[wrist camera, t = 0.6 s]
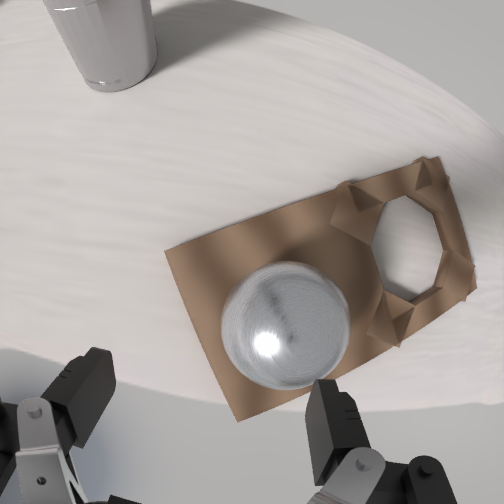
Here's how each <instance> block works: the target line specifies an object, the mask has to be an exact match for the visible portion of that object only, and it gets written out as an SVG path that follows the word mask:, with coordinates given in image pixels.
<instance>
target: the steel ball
mask: <svg viewBox="0 0 504 504" xmlns="http://www.w3.org/2000/svg"><path fill="white" fill-rule="evenodd" d="M350 335H351V315H350V310H349V306H348V303H347V300H346V298H345V296H344V294H343V292H342V291H341V289H340V288H339V287H338V285H337V284H336V283H335V282H334V281H333V280H332V279H331V278H330V277H329V276H328V275H327V274H325V273H324V272H323V271H321V270H319V269H317V268H316V267H314V266H311V265H308V264H305V263H301V262H296V261H278V262H272V263H269V264H266V265H263V266H260V267H258V268H256V269H254V270H252V271H251V272H249V273H248V274H246V275H245V276H244V277H243V278H242V279H241V280H240V281H239V282H238V283H237V284H236V285H235V286H234V288H233V289H232V291H231V292H230V294H229V296H228V297H227V299H226V302H225V305H224V307H223V311H222V316H221V337H222V342H223V345H224V348H225V351H226V353H227V355H228V357H229V359H230V360H231V362H232V363H233V365H234V366H235V367H236V368H237V369H238V370H239V372H240V373H242V374H243V375H244V376H245V377H247V378H248V379H249V380H251V381H253V382H254V383H256V384H258V385H261V386H263V387H267V388H271V389H276V390H294V389H300V388H303V387H307V386H309V385H312V384H313V383H314V381H315V379H323V378H324V377H326V376H327V375H328V374H329V373H330V372H331V371H332V370H333V369H334V368H335V367H336V366H337V365H338V363H339V362H340V360H341V359H342V357H343V355H344V354H345V352H346V349H347V347H348V344H349V340H350Z"/></svg>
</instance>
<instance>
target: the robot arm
mask: <svg viewBox="0 0 504 504" xmlns="http://www.w3.org/2000/svg"><path fill="white" fill-rule="evenodd" d="M43 2H44V4H45V5H46V7H47V9H48V11H49V13H50V15H51V17H52V19H53V21H54V23H55V25H56V27H57V29H58V31H59V33H60V35H61V37H62V39H63V41H64V43H65V45H66V47H67V49H68V50H69V52H70V54H71V56H72V58H73V60H74V62H75V64H76V65H77V67H78V69H79V71H80V73H81V74H82V76H83V78H84V80H85V81H86V83H87V84H88V85H89V86H90V87H91V88H93V89H95V90H97V91H102V92H115V91H120V90H124V89H126V88H129V87H131V86H133V85H135V84H137V83H138V82H140V81H141V80H142V79H144V78H145V77H146V76H147V75H148V74H149V73H150V72H151V70H152V68H153V67H154V65H155V63H156V60H157V47H156V40H155V33H154V25H153V17H152V9H151V1H150V0H43ZM115 387H116V379H115V373H114V366H113V360H112V354H111V352H110V351H108V350H104V349H100V348H96V347H92V348H91V349H90V350H89V351H88V352H87V353H86V355H85V356H84V357H83V356H79V357H77V358H75V359H73V360H71V361H70V362H69V363H68V364H67V366H66V367H65V368H64V370H63V371H62V372H61V373H60V374H59V376H58V377H56V379H55V380H54V381H53V382H52V383H51V385H50V386H49V387H48V388H47V390H46V391H45V392H44V393H43V394H42V396H41V397H30V398H27V399H25V400H23V401H22V402H21V403H20V404H19V405H16V404H10V403H3V402H2V400H1V398H0V496H1V494H2V492H3V490H4V488H5V487H6V485H7V483H8V480H9V479H10V477H11V476H12V474H13V472H14V470H15V468H16V467H17V471H18V478H19V483H20V489H21V493H22V499H23V503H24V504H141V503H137V502H133V501H130V500H126V499H123V498H120V497H116V496H113V495H110V497H109V500H108V502H105V501H96V502H88V500H87V498H86V497H85V495H84V492H83V490H82V487H81V485H80V481H79V478H78V476H77V472H76V469H75V467H74V463H73V460H72V456H71V453H70V449H71V447H72V445H74V446H77V447H79V448H83V447H84V446H85V443H86V442H87V440H88V438H89V436H90V435H91V433H92V431H93V429H94V427H95V426H96V424H97V422H98V420H99V419H100V417H101V415H102V413H103V411H104V410H105V408H106V406H107V404H108V403H109V401H110V399H111V397H112V396H113V394H114V391H115ZM305 421H306V428H307V434H308V441H309V448H310V454H311V461H312V468H313V475H314V483H315V486H323V487H322V488H321V490H320V491H319V492H318V493H316V494H315V495H314V496H313V497H312V498H311V499H310V500H309V501H308V503H307V504H457V501H456V499H455V496H454V494H453V491H452V488H451V486H450V484H449V481H448V478H447V476H446V474H445V471H444V469H443V466H442V465H441V463H440V462H439V461H438V460H437V459H435V458H433V457H430V456H418V457H415V458H414V459H412V460H411V462H410V463H409V464H401V463H393V462H388V461H385V459H384V458H383V456H382V455H381V454H380V453H379V452H378V451H376V450H374V449H371V446H370V443H369V440H368V437H367V434H366V431H365V429H364V426H363V423H362V420H361V417H360V414H359V412H358V409H357V406H356V403H355V400H354V399H353V398H352V397H351V396H350V395H349V394H348V393H347V392H339V390H338V387H337V383H336V381H335V380H334V379H315V381H314V383H313V387H312V390H311V394H310V397H309V400H308V404H307V407H306V414H305Z"/></svg>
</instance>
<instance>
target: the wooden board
mask: <svg viewBox="0 0 504 504" xmlns="http://www.w3.org/2000/svg"><path fill="white" fill-rule="evenodd" d="M403 195H406V196H408V197H409V198H411V199H412V200H414V201H415V202H416V203H418V204H419V205H421V206H422V207H424V208H425V209H426V210H428V211H429V212H431V213H432V214H433V217H434V220H435V223H436V226H437V229H438V233H439V236H440V240H441V243H442V247H443V250H444V251H443V254H442V258H441V262H440V265H439V269H438V272H437V275H436V279H435V282H434V285H433V287H432V288H431V289H429V290H427V291H426V292H424V293H423V294H421V295H419V296H418V297H416V298H415V299H413V300H411V301H410V302H407V301H405V300H403V299H401V298H399V297H397V296H395V295H393V294H391V293H389V292H387V291H385V290H384V289H383V285H382V282H381V279H380V275H379V272H378V269H377V266H376V263H375V260H374V256H373V253H372V250H371V247H370V244H371V241H372V238H373V235H374V232H375V229H376V226H377V223H378V220H379V217H380V214H381V211H382V208H383V204H384V203H385V202H388V201H390V200H393V199H396V198H398V197H401V196H403ZM164 252H165V255H166V258H167V260H168V263H169V266H170V268H171V271H172V274H173V276H174V279H175V282H176V284H177V287H178V289H179V292H180V294H181V297H182V300H183V302H184V305H185V307H186V309H187V312H188V314H189V317H190V319H191V322H192V324H193V326H194V329H195V331H196V334H197V336H198V338H199V341H200V343H201V345H202V348H203V350H204V352H205V354H206V357H207V359H208V361H209V363H210V366H211V368H212V370H213V372H214V374H215V377H216V379H217V381H218V383H219V385H220V387H221V389H222V392H223V394H224V396H225V398H226V400H227V402H228V404H229V406H230V408H231V410H232V412H233V414H234V416H235V418H236V420H237V422H240V421H242V420H245V419H248V418H250V417H253V416H255V415H258V414H260V413H263V412H265V411H268V410H270V409H272V408H275V407H277V406H279V405H282V404H284V403H286V402H289V401H291V400H293V399H295V398H297V397H300V396H302V395H304V394H306V393H308V392H310V391H311V390H312V387H313V384H312V385H309V386H307V387H303V388H300V389H294V390H276V389H271V388H267V387H263V386H261V385H258V384H256V383H254V382H253V381H251V380H249V379H248V378H247V377H245V376H244V375H243V374H242V373H240V372H239V370H238V369H237V368H236V367H235V366H234V365H233V363H232V362H231V360H230V359H229V357H228V355H227V353H226V351H225V348H224V345H223V342H222V337H221V316H222V311H223V307H224V305H225V302H226V299H227V297H228V296H229V294H230V292H231V291H232V289H233V288H234V286H235V285H236V284H237V283H238V282H239V281H240V280H241V279H242V278H243V277H244V276H245V275H246V274H248V273H249V272H251V271H252V270H254V269H256V268H258V267H260V266H263V265H266V264H269V263H272V262H278V261H296V262H301V263H305V264H308V265H311V266H314V267H316V268H317V269H319V270H321V271H323V272H324V273H325V274H327V275H328V276H329V277H330V278H331V279H332V280H333V281H334V282H335V283H336V284H337V285H338V287H339V288H340V289H341V291H342V292H343V294H344V296H345V298H346V300H347V303H348V306H349V310H350V315H351V335H350V340H349V344H348V347H347V349H346V352H345V354H344V355H343V357H342V359H341V360H340V362H339V363H338V365H337V366H336V367H335V368H334V369H333V370H332V371H331V372H330V373H329V374H328V375H327V376H326V377H324V378H323V379H334V380H335V379H336V378H338V377H340V376H342V375H344V374H346V373H348V372H350V371H352V370H353V369H355V368H357V367H359V366H361V365H363V364H364V363H366V362H368V361H370V360H371V359H373V358H375V357H377V356H378V355H380V354H382V353H383V352H385V351H387V350H388V349H390V348H392V347H393V346H396V347H400V344H401V342H402V341H403V340H405V339H406V338H408V337H409V336H411V335H412V334H414V333H415V332H417V331H419V330H420V329H422V328H423V327H425V326H426V325H427V324H429V323H430V322H432V321H433V320H435V319H436V318H438V317H439V316H440V315H442V314H443V313H445V312H446V311H447V310H449V309H450V308H452V307H453V306H454V305H456V304H457V303H458V302H460V301H466V298H467V296H468V295H469V294H470V293H471V292H473V291H474V290H475V289H477V285H476V280H475V275H474V268H475V265H474V264H472V261H471V256H470V252H469V248H468V244H467V240H466V237H465V233H464V229H463V226H462V222H461V219H460V215H459V212H458V209H457V206H456V203H455V200H454V197H453V194H452V191H451V188H450V185H449V177H448V176H447V175H446V174H445V171H444V169H443V166H442V164H441V161H440V159H439V156H438V157H435V158H432V159H428V160H426V159H425V158H424V157H421V158H419V159H417V160H415V161H413V164H412V165H409V166H406V167H403V168H399V169H396V170H393V171H390V172H387V173H384V174H381V175H378V176H374V177H371V178H368V179H365V180H362V181H359V182H356V183H353V184H351V183H350V182H348V181H344V182H342V183H340V184H339V185H338V186H337V188H336V189H335V190H332V191H329V192H326V193H323V194H320V195H317V196H314V197H311V198H308V199H306V200H303V201H300V202H297V203H294V204H291V205H288V206H285V207H283V208H280V209H277V210H274V211H271V212H268V213H266V214H263V215H260V216H257V217H254V218H252V219H249V220H246V221H243V222H241V223H238V224H235V225H232V226H230V227H227V228H224V229H221V230H219V231H216V232H213V233H211V234H208V235H205V236H203V237H200V238H197V239H195V240H192V241H189V242H187V243H184V244H181V245H179V246H176V247H173V248H171V249H168V250H166V251H164Z"/></svg>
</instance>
